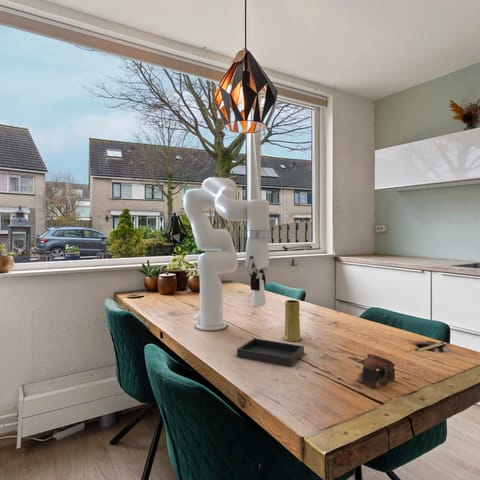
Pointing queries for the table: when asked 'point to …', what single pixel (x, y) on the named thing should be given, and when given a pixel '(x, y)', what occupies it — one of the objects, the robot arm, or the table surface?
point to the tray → (271, 352)
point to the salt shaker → (258, 294)
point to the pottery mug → (373, 376)
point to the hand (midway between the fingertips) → (258, 288)
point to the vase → (292, 321)
